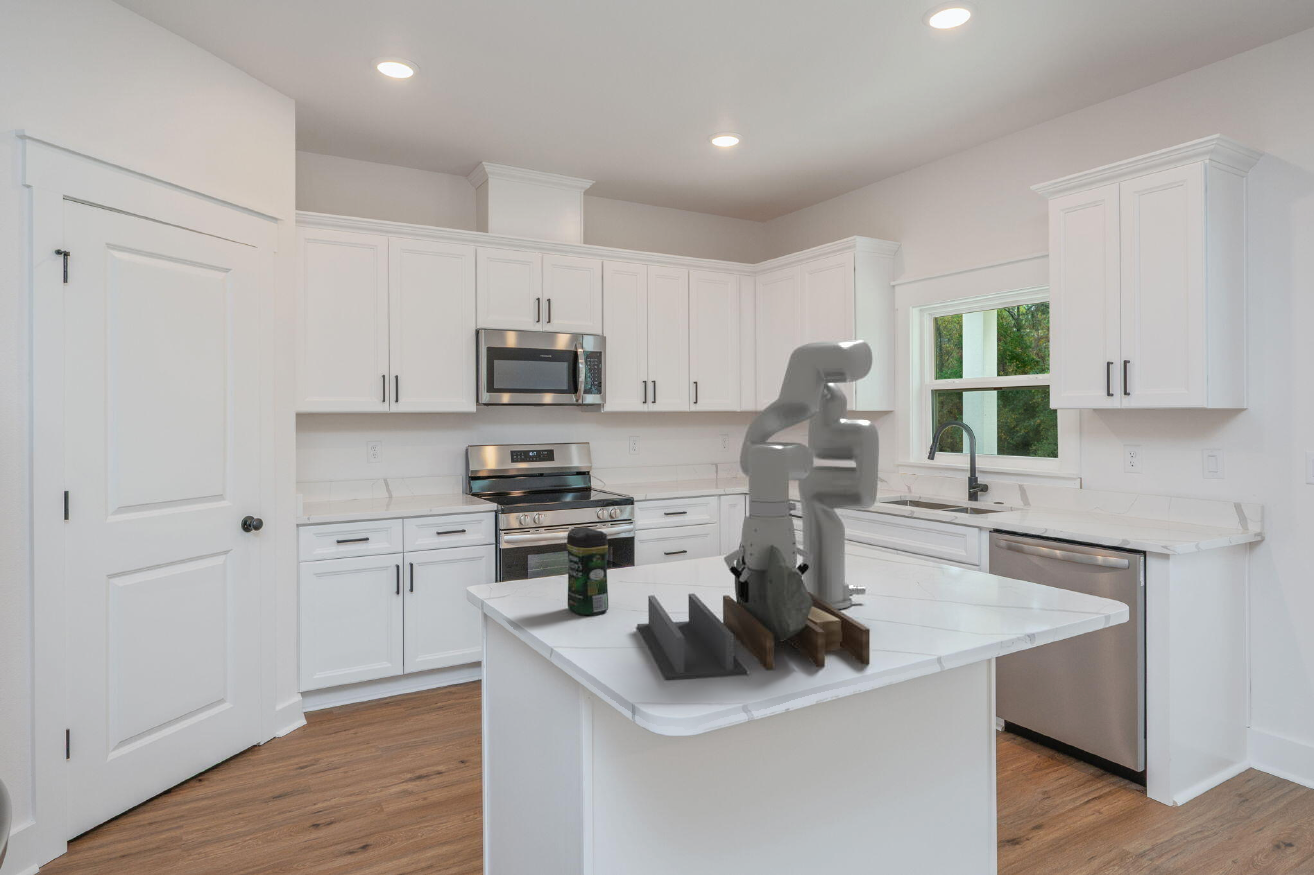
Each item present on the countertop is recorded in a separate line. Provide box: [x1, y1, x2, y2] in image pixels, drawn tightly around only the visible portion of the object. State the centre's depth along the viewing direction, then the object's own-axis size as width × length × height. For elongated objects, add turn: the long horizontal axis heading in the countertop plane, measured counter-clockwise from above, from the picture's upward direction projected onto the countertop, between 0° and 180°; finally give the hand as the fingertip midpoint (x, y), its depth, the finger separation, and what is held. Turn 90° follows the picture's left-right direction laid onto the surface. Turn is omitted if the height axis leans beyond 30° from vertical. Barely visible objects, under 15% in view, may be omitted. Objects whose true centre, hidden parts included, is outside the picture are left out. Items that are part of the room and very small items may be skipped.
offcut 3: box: [825, 642, 841, 651], centre depth 144 cm, size 5×12×2 cm, turn 15°
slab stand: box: [636, 593, 749, 681], centre depth 140 cm, size 14×32×7 cm, turn 10°
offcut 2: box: [825, 631, 842, 644], centre depth 144 cm, size 5×12×2 cm, turn 19°
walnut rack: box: [722, 592, 871, 671], centre depth 143 cm, size 19×29×6 cm, turn 10°
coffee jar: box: [566, 526, 609, 616], centre depth 168 cm, size 10×8×19 cm
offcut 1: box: [807, 606, 841, 632], centre depth 144 cm, size 5×12×2 cm, turn 18°
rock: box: [734, 541, 813, 643], centre depth 142 cm, size 27×6×20 cm, turn 18°
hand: (769, 599), depth 142 cm, fingers open, 9 cm apart
